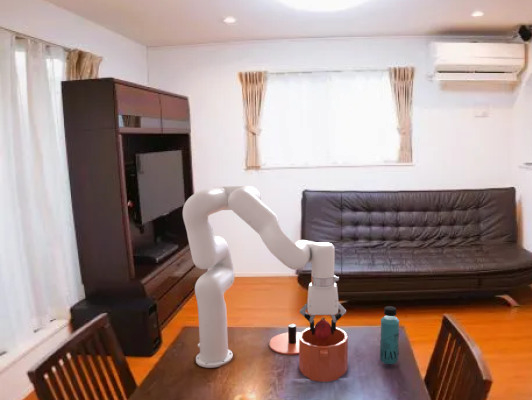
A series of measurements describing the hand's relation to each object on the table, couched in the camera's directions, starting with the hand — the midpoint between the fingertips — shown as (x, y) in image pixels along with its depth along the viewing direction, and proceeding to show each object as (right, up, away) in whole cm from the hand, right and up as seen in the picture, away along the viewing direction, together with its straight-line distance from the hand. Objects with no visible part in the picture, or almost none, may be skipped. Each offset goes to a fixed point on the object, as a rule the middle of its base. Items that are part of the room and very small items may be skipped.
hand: (322, 332), depth 142 cm
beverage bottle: (+23, -12, +5) cm, 26 cm away
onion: (0, -3, 0) cm, 3 cm away
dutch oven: (0, -13, +2) cm, 13 cm away
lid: (-11, -10, +18) cm, 24 cm away
